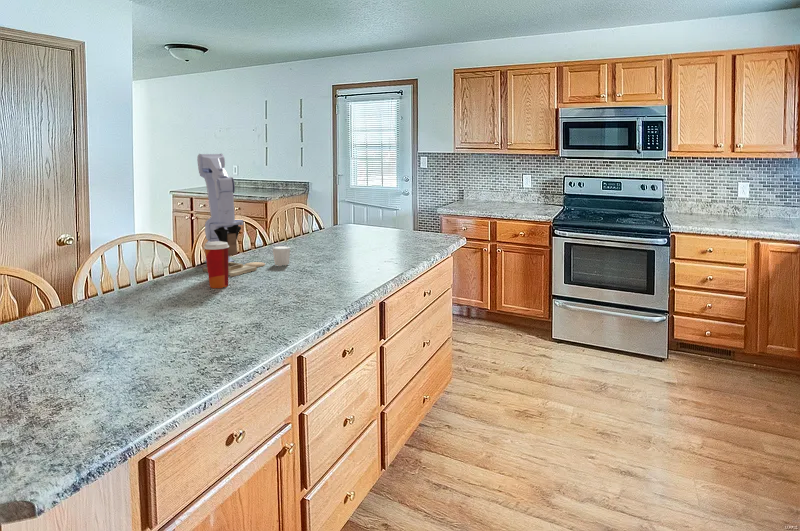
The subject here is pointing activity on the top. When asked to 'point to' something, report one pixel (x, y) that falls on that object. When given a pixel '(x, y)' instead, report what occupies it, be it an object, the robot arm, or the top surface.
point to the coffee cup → (217, 263)
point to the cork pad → (255, 264)
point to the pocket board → (237, 269)
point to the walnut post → (231, 243)
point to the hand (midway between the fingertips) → (228, 246)
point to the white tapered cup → (281, 255)
